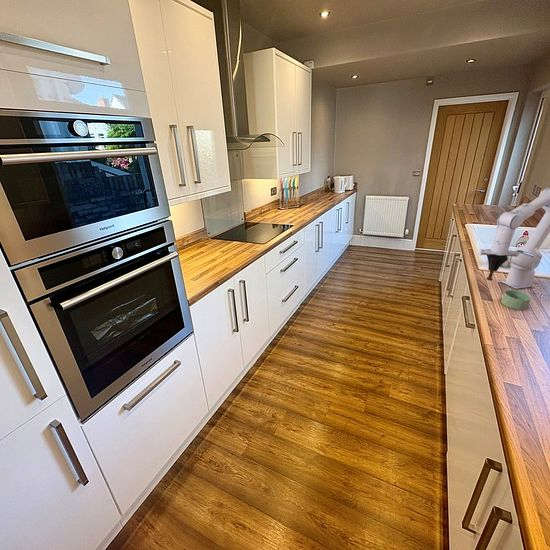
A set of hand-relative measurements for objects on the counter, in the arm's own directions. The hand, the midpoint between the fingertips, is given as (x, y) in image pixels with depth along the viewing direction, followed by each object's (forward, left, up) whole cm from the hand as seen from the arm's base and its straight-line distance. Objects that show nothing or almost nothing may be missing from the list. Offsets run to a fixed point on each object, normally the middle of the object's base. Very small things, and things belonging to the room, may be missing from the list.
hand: (492, 270), depth 128 cm
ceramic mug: (-34, -22, -11) cm, 41 cm away
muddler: (0, 0, -4) cm, 4 cm away
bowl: (-2, +12, -10) cm, 16 cm away
